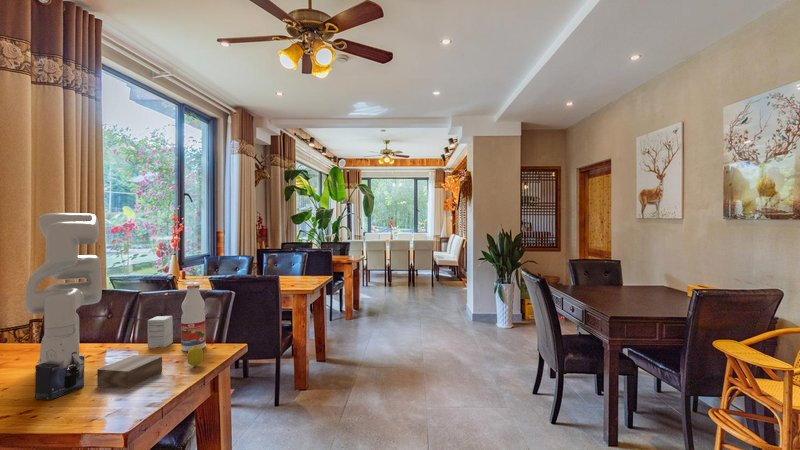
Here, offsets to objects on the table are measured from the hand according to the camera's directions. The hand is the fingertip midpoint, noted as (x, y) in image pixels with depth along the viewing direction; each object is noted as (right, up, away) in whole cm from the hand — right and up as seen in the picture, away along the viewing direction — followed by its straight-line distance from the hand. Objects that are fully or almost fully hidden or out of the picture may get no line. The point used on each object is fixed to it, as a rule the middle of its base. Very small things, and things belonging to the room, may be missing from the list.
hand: (60, 385), depth 118 cm
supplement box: (+1, -3, +48) cm, 48 cm away
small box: (0, -2, 0) cm, 2 cm away
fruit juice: (+18, -3, +44) cm, 48 cm away
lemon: (+31, -2, +22) cm, 38 cm away
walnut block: (+15, -3, +11) cm, 19 cm away
